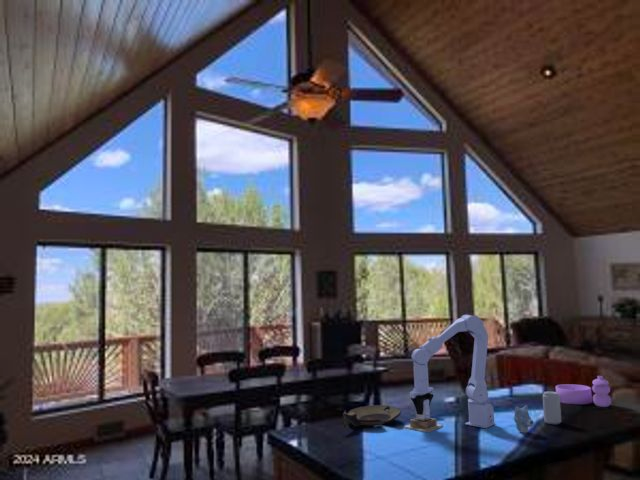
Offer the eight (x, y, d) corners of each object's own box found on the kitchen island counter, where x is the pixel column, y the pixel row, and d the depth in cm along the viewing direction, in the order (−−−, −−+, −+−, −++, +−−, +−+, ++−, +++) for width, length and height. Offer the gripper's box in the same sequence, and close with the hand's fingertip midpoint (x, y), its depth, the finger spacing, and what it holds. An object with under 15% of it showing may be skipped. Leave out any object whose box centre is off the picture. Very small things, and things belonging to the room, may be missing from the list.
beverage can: (543, 424, 213) (541, 393, 214) (545, 420, 219) (543, 390, 220) (560, 425, 210) (558, 394, 212) (562, 421, 216) (559, 391, 217)
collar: (442, 426, 214) (442, 418, 215) (427, 432, 207) (427, 424, 207) (419, 422, 222) (419, 414, 222) (404, 427, 214) (403, 420, 215)
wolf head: (526, 437, 196) (524, 409, 197) (511, 431, 205) (509, 404, 206) (540, 435, 198) (538, 407, 199) (525, 429, 206) (523, 403, 207)
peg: (429, 419, 215) (428, 399, 215) (424, 421, 212) (423, 400, 213) (421, 417, 218) (420, 397, 218) (415, 419, 215) (414, 399, 215)
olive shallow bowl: (413, 425, 218) (412, 406, 219) (348, 435, 206) (347, 415, 207) (385, 414, 239) (384, 396, 239) (324, 423, 227) (324, 404, 227)
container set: (549, 400, 255) (547, 372, 256) (568, 396, 263) (566, 369, 264) (601, 409, 234) (598, 379, 235) (619, 404, 242) (617, 375, 243)
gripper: (423, 375, 224) (424, 408, 223) (402, 380, 214) (404, 415, 213) (437, 377, 219) (439, 411, 218) (417, 382, 209) (418, 418, 208)
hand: (422, 413), depth 215 cm, fingers closed on peg, 4 cm apart
